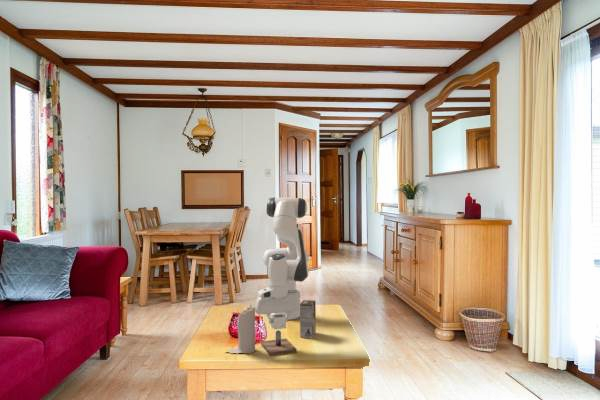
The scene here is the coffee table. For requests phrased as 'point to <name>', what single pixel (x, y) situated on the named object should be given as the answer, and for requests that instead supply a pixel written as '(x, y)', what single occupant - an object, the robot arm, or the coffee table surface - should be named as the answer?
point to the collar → (278, 321)
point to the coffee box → (307, 319)
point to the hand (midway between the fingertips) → (278, 322)
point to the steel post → (278, 338)
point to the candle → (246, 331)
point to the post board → (278, 347)
